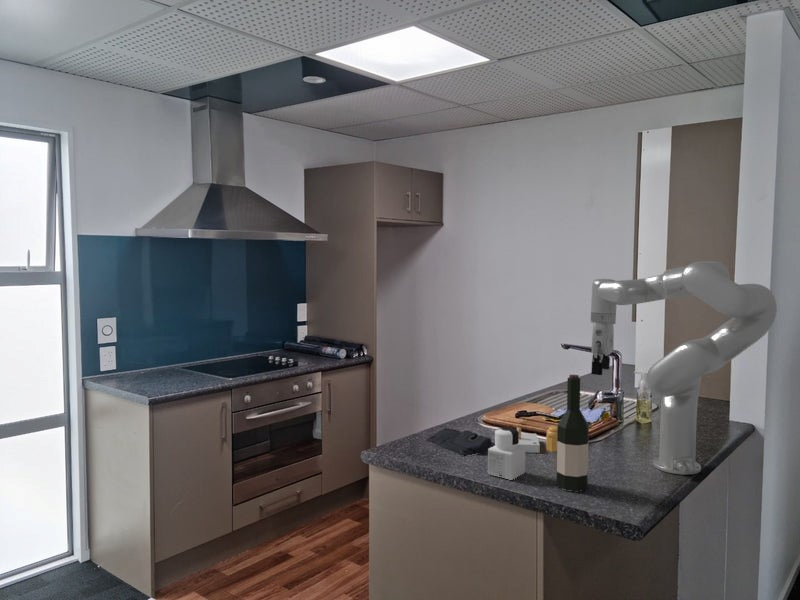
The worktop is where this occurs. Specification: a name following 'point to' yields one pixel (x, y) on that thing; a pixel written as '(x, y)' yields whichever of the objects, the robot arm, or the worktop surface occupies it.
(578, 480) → the wine bottle
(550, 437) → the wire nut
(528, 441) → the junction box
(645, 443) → the worktop surface
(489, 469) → the container
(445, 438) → the black folded cloth
